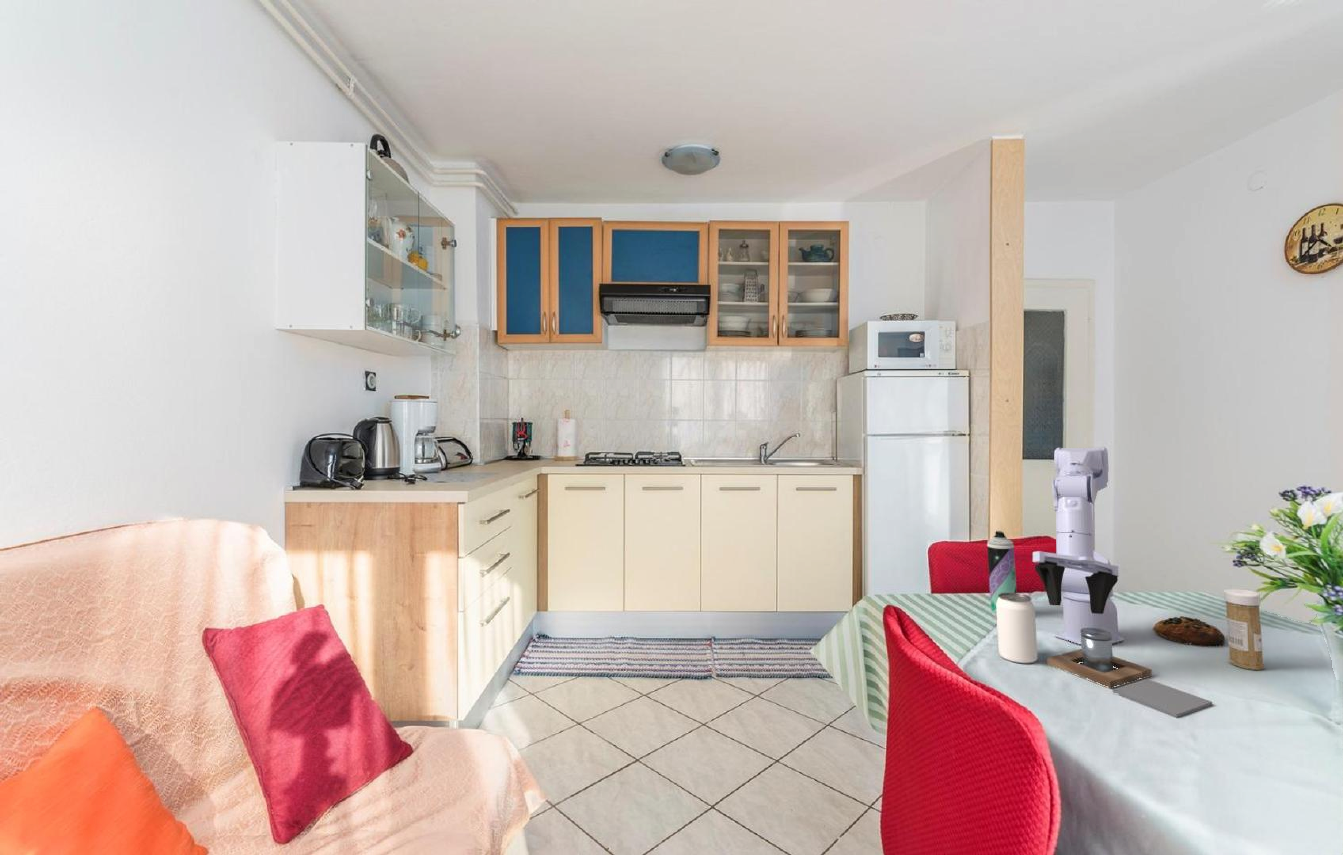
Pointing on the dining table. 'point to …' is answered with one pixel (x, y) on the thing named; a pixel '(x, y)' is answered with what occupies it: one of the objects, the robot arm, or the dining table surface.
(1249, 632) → the sprinkles bottle
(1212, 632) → the bread roll
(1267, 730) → the dining table surface
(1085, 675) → the collar
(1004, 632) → the can
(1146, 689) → the coaster
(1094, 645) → the grey metal cylinder
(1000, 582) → the spray can
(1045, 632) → the dining table surface
